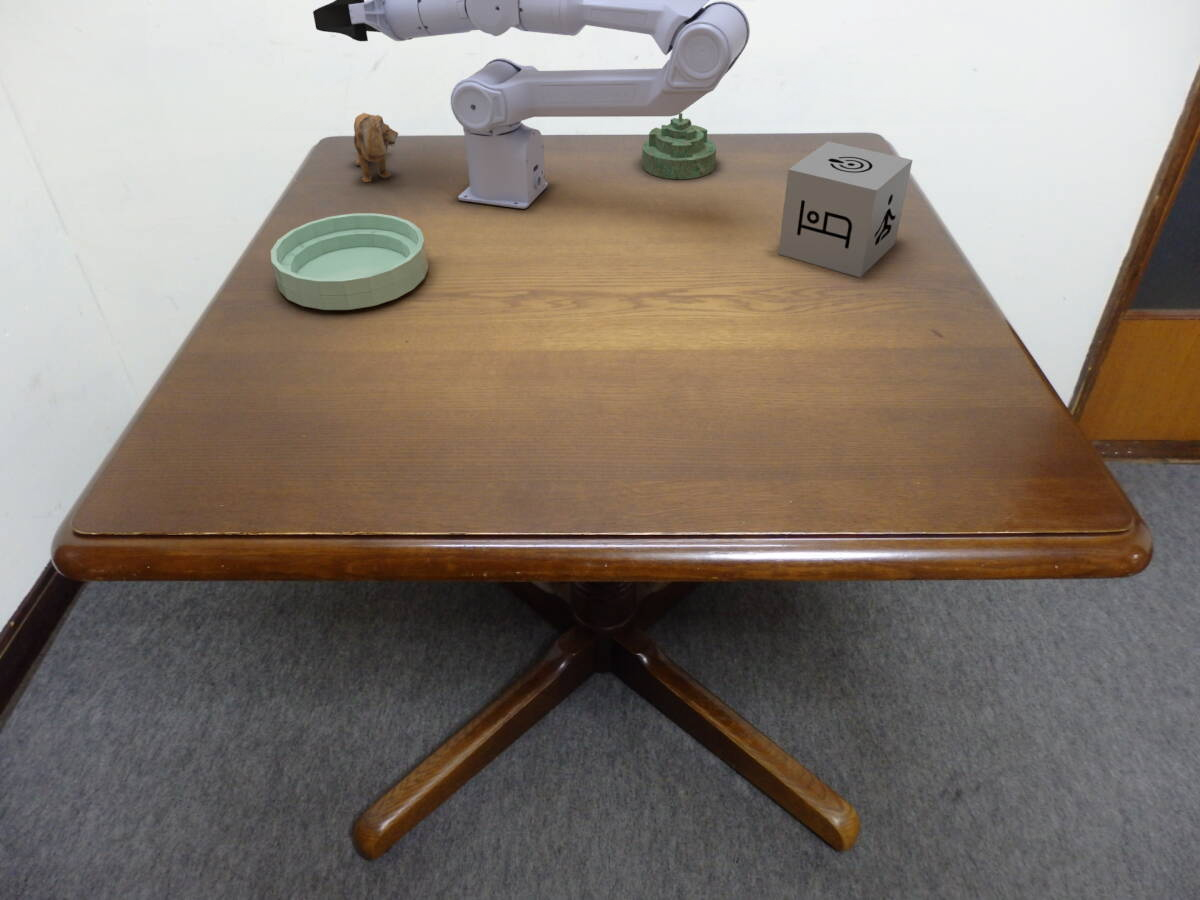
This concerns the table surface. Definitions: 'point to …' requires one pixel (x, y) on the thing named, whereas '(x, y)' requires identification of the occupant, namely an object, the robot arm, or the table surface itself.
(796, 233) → the icon cube
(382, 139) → the lion figurine
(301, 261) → the bowl
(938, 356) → the table surface
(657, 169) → the decorative artifact
